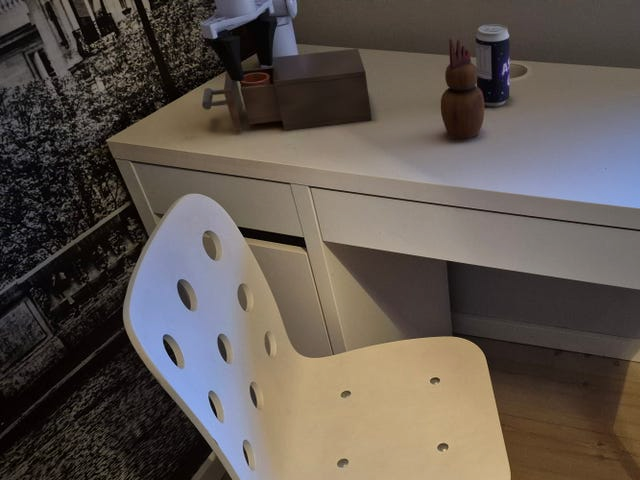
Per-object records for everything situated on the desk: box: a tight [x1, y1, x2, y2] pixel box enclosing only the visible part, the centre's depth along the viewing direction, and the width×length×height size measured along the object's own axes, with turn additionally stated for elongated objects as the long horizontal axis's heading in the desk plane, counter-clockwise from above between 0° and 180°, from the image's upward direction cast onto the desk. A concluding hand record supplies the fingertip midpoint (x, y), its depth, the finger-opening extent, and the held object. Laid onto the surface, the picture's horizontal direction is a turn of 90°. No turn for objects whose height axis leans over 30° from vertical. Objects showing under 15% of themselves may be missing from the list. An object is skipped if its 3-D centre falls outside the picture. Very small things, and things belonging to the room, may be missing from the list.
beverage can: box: [475, 23, 511, 107], centre depth 114 cm, size 6×6×12 cm
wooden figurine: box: [440, 38, 485, 140], centre depth 103 cm, size 7×6×15 cm
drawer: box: [201, 67, 282, 130], centre depth 112 cm, size 18×10×6 cm, turn 104°
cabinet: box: [273, 48, 373, 131], centre depth 113 cm, size 15×12×8 cm
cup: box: [239, 73, 272, 88], centre depth 111 cm, size 5×5×5 cm
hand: (252, 72), depth 109 cm, fingers open, 7 cm apart
